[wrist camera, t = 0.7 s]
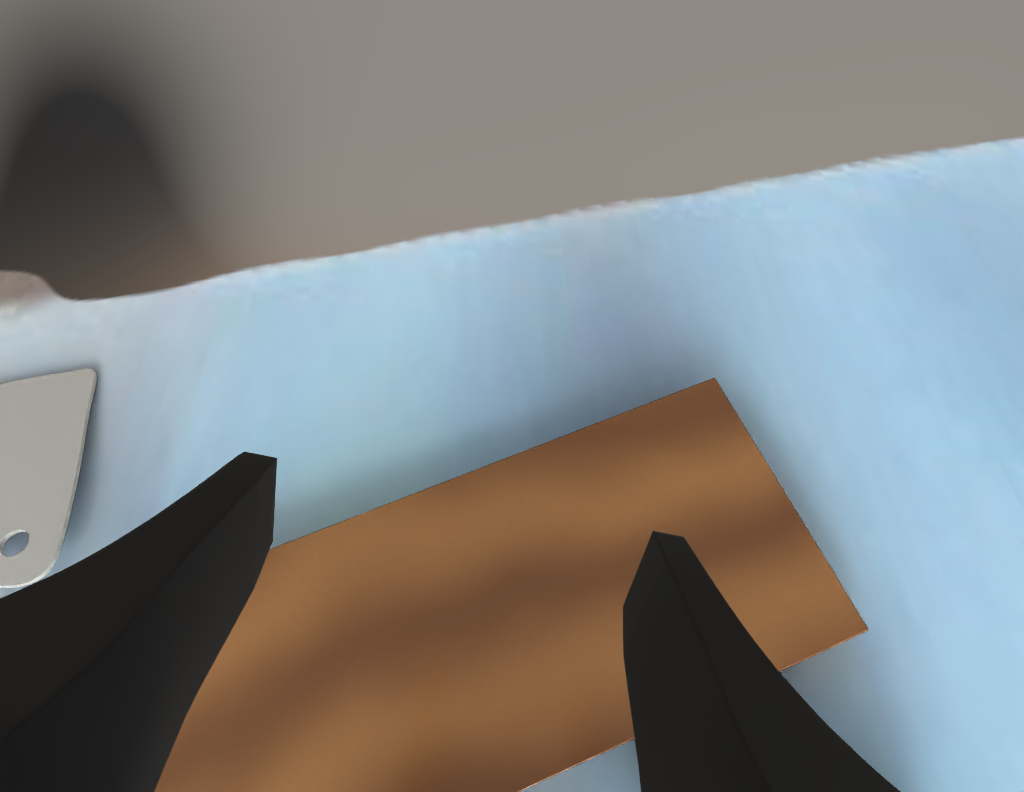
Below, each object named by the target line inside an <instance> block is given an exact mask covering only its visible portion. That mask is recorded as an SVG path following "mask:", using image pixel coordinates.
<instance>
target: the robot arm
mask: <svg viewBox="0 0 1024 792" xmlns="http://www.w3.org/2000/svg"><path fill="white" fill-rule="evenodd" d="M276 468H277V458H274V457H269V456H264V455H259V454H254V453H248V452H243V453H241V454H240V455H238V456H237V457H235V458H234V459H233V460H231V461H230V462H229V463H227V464H226V465H225V466H223V467H222V468H221V469H219V470H218V471H217V472H216V473H214V474H213V475H212V476H210V477H209V478H208V479H206V480H205V481H204V482H202V483H201V484H199V485H198V486H197V487H195V488H194V489H193V490H191V491H190V492H189V493H187V494H186V495H184V496H183V497H181V498H180V499H179V500H177V501H176V502H174V503H173V504H171V505H170V506H169V507H167V508H166V509H164V510H163V511H161V512H160V513H159V514H157V515H156V516H154V517H153V518H151V519H150V520H148V521H146V522H145V523H143V524H142V525H140V526H139V527H137V528H135V529H134V530H132V531H131V532H129V533H127V534H126V535H124V536H123V537H121V538H120V539H118V540H116V541H115V542H113V543H111V544H110V545H108V546H106V547H105V548H103V549H101V550H99V551H98V552H96V553H94V554H92V555H91V556H89V557H87V558H85V559H83V560H81V561H80V562H78V563H76V564H74V565H72V566H70V567H68V568H66V569H64V570H62V571H60V572H58V573H56V574H54V575H52V576H50V577H48V578H46V579H43V580H41V581H39V582H37V583H34V584H32V585H30V586H28V587H26V588H23V589H21V590H19V591H17V592H14V593H12V594H10V595H8V596H5V597H3V598H1V599H0V792H154V791H155V789H156V786H157V784H158V781H159V779H160V776H161V774H162V772H163V769H164V767H165V764H166V762H167V760H168V757H169V755H170V753H171V750H172V748H173V745H174V743H175V741H176V738H177V736H178V734H179V731H180V729H181V727H182V724H183V722H184V720H185V717H186V715H187V713H188V711H189V709H190V707H191V705H192V703H193V701H194V699H195V697H196V695H197V693H198V691H199V689H200V687H201V685H202V683H203V682H204V680H205V678H206V676H207V674H208V672H209V671H210V669H211V667H212V665H213V663H214V662H215V660H216V658H217V656H218V654H219V652H220V651H221V649H222V647H223V645H224V643H225V641H226V640H227V638H228V636H229V634H230V632H231V630H232V629H233V627H234V625H235V623H236V621H237V619H238V618H239V616H240V614H241V612H242V610H243V608H244V606H245V605H246V603H247V601H248V599H249V597H250V595H251V593H252V591H253V590H254V587H255V585H256V582H257V580H258V577H259V575H260V573H261V570H262V568H263V565H264V562H265V560H266V557H267V554H268V552H269V549H270V547H271V544H272V541H273V527H274V507H275V488H276ZM623 657H624V665H625V672H626V680H627V687H628V695H629V702H630V709H631V716H632V723H633V730H634V737H635V744H636V751H637V758H638V765H639V774H640V784H641V792H900V791H899V790H898V789H897V788H896V787H894V786H893V785H892V784H891V783H890V782H888V781H887V780H886V779H885V778H884V777H883V776H881V775H880V774H879V773H878V772H877V771H876V770H875V769H874V768H872V767H871V766H870V765H869V764H868V763H867V762H866V761H865V760H864V759H862V758H861V757H860V756H859V755H858V754H857V753H856V752H855V751H854V750H853V749H852V748H851V747H850V746H849V745H848V744H847V743H846V742H845V741H844V740H843V739H842V738H840V737H839V736H838V735H837V734H836V733H835V732H834V731H833V730H832V729H831V728H830V727H829V726H828V725H827V724H826V723H825V722H824V721H823V720H822V719H821V718H820V717H819V716H818V715H817V713H816V712H815V711H814V710H813V709H812V708H811V707H810V706H809V705H808V704H807V703H806V701H805V700H804V699H803V698H802V697H801V696H800V695H799V694H798V693H797V692H796V690H795V689H794V688H793V687H792V686H791V685H790V684H789V683H788V681H787V680H786V679H785V678H784V677H783V676H782V674H781V673H780V672H779V671H778V670H777V668H776V667H775V666H774V665H773V663H772V662H771V661H770V660H769V658H768V657H767V656H766V655H765V653H764V652H763V651H762V649H761V648H760V647H759V646H758V644H757V643H756V642H755V641H754V639H753V638H752V637H751V635H750V634H749V632H748V631H747V630H746V628H745V627H744V626H743V624H742V623H741V622H740V620H739V619H738V617H737V616H736V615H735V613H734V612H733V610H732V609H731V607H730V606H729V605H728V603H727V602H726V600H725V599H724V597H723V596H722V594H721V593H720V591H719V590H718V588H717V587H716V585H715V584H714V582H713V581H712V579H711V578H710V576H709V575H708V573H707V572H706V570H705V569H704V567H703V565H702V564H701V562H700V561H699V559H698V558H697V556H696V555H695V553H694V552H693V550H692V548H691V547H690V545H689V544H688V542H687V541H686V539H685V538H684V537H682V536H677V535H672V534H667V533H661V532H656V531H653V532H652V534H651V537H650V539H649V542H648V544H647V547H646V549H645V552H644V554H643V557H642V559H641V562H640V564H639V567H638V569H637V572H636V574H635V577H634V579H633V582H632V584H631V587H630V589H629V592H628V594H627V597H626V599H625V602H624V604H623Z"/></svg>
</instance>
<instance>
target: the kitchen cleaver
mask: <svg viewBox="0 0 1024 792" xmlns="http://www.w3.org/2000/svg"><path fill="white" fill-rule="evenodd" d="M96 381H97V374H96V373H95V372H94V370H93V369H90V368H86V369H80V370H75V371H69V372H64V373H58V374H52V375H46V376H40V377H34V378H28V379H23V380H17V381H12V382H6V383H1V384H0V588H15V587H22V586H27V585H30V584H33V583H35V582H37V581H39V580H40V579H42V578H43V577H44V576H46V575H47V574H48V573H49V571H50V570H51V569H52V568H53V566H54V564H55V563H56V561H57V558H58V556H59V554H60V551H61V548H62V544H63V541H64V537H65V534H66V530H67V526H68V522H69V517H70V513H71V509H72V505H73V501H74V496H75V492H76V487H77V482H78V478H79V473H80V467H81V462H82V456H83V450H84V443H85V437H86V431H87V424H88V419H89V413H90V408H91V404H92V399H93V395H94V391H95V386H96ZM19 532H27V533H28V535H29V541H28V544H27V546H26V547H25V548H24V549H23V550H22V551H21V552H20V553H18V554H16V555H14V556H5V555H4V553H3V548H4V545H5V543H6V541H7V540H8V539H9V538H10V537H11V536H13V535H14V534H16V533H19Z"/></svg>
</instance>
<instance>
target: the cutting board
mask: <svg viewBox="0 0 1024 792" xmlns="http://www.w3.org/2000/svg"><path fill="white" fill-rule="evenodd" d="M653 531H656V532H661V533H667V534H672V535H677V536H682V537H684V538H685V539H686V541H687V542H688V544H689V545H690V547H691V548H692V550H693V552H694V553H695V555H696V556H697V558H698V559H699V561H700V562H701V564H702V565H703V567H704V569H705V570H706V572H707V573H708V575H709V576H710V578H711V579H712V581H713V582H714V584H715V585H716V587H717V588H718V590H719V591H720V593H721V594H722V596H723V597H724V599H725V600H726V602H727V603H728V605H729V606H730V607H731V609H732V610H733V612H734V613H735V615H736V616H737V617H738V619H739V620H740V622H741V623H742V624H743V626H744V627H745V628H746V630H747V631H748V632H749V634H750V635H751V637H752V638H753V639H754V641H755V642H756V643H757V644H758V646H759V647H760V648H761V649H762V651H763V652H764V653H765V655H766V656H767V657H768V658H769V660H770V661H771V662H772V663H773V665H774V666H775V667H776V668H777V670H778V671H779V672H780V671H782V670H784V669H786V668H789V667H791V666H793V665H795V664H797V663H799V662H802V661H804V660H806V659H808V658H810V657H812V656H815V655H817V654H819V653H821V652H823V651H825V650H828V649H830V648H832V647H834V646H836V645H838V644H840V643H843V642H845V641H847V640H849V639H851V638H853V637H856V636H858V635H860V634H862V633H864V632H866V631H868V627H867V626H866V624H865V622H864V621H863V619H862V618H861V616H860V614H859V613H858V611H857V609H856V608H855V606H854V604H853V603H852V601H851V600H850V598H849V596H848V595H847V593H846V591H845V590H844V588H843V586H842V585H841V583H840V582H839V580H838V578H837V577H836V575H835V573H834V572H833V570H832V568H831V567H830V565H829V564H828V562H827V560H826V559H825V557H824V555H823V554H822V552H821V550H820V549H819V547H818V546H817V544H816V542H815V541H814V539H813V537H812V536H811V534H810V532H809V531H808V529H807V528H806V526H805V524H804V523H803V521H802V519H801V518H800V516H799V514H798V513H797V511H796V510H795V508H794V506H793V505H792V503H791V501H790V500H789V498H788V496H787V495H786V493H785V492H784V490H783V488H782V487H781V485H780V483H779V482H778V480H777V478H776V477H775V475H774V474H773V472H772V470H771V469H770V467H769V465H768V464H767V462H766V460H765V459H764V457H763V456H762V454H761V452H760V451H759V449H758V447H757V446H756V444H755V442H754V441H753V439H752V438H751V436H750V434H749V433H748V431H747V429H746V428H745V426H744V424H743V423H742V421H741V420H740V418H739V416H738V415H737V413H736V411H735V410H734V408H733V406H732V405H731V403H730V402H729V400H728V398H727V397H726V395H725V393H724V392H723V390H722V388H721V387H720V385H719V384H718V382H717V380H716V379H715V378H712V379H710V380H707V381H704V382H702V383H699V384H697V385H694V386H691V387H689V388H686V389H684V390H681V391H678V392H676V393H673V394H671V395H668V396H666V397H663V398H660V399H658V400H655V401H653V402H650V403H647V404H645V405H642V406H640V407H637V408H634V409H632V410H629V411H627V412H624V413H621V414H619V415H616V416H614V417H611V418H609V419H606V420H603V421H601V422H598V423H596V424H593V425H590V426H588V427H585V428H583V429H580V430H577V431H575V432H572V433H570V434H567V435H565V436H562V437H559V438H557V439H554V440H552V441H549V442H546V443H544V444H541V445H539V446H536V447H533V448H531V449H528V450H526V451H523V452H520V453H518V454H515V455H513V456H510V457H508V458H505V459H502V460H500V461H497V462H495V463H492V464H489V465H487V466H484V467H482V468H479V469H476V470H474V471H471V472H469V473H466V474H463V475H461V476H458V477H456V478H453V479H451V480H448V481H445V482H443V483H440V484H438V485H435V486H432V487H430V488H427V489H425V490H422V491H419V492H417V493H414V494H412V495H409V496H407V497H404V498H401V499H399V500H396V501H394V502H391V503H388V504H386V505H383V506H381V507H378V508H375V509H373V510H370V511H368V512H365V513H362V514H360V515H357V516H355V517H352V518H350V519H347V520H344V521H342V522H339V523H337V524H334V525H331V526H329V527H326V528H324V529H321V530H318V531H316V532H313V533H311V534H308V535H306V536H303V537H300V538H298V539H295V540H293V541H290V542H287V543H285V544H282V545H280V546H277V547H274V548H272V549H269V552H268V554H267V557H266V560H265V562H264V565H263V568H262V570H261V573H260V575H259V577H258V580H257V582H256V585H255V587H254V590H253V591H252V593H251V595H250V597H249V599H248V601H247V603H246V605H245V606H244V608H243V610H242V612H241V614H240V616H239V618H238V619H237V621H236V623H235V625H234V627H233V629H232V630H231V632H230V634H229V636H228V638H227V640H226V641H225V643H224V645H223V647H222V649H221V651H220V652H219V654H218V656H217V658H216V660H215V662H214V663H213V665H212V667H211V669H210V671H209V672H208V674H207V676H206V678H205V680H204V682H203V683H202V685H201V687H200V689H199V691H198V693H197V695H196V697H195V699H194V701H193V703H192V705H191V707H190V709H189V711H188V713H187V715H186V717H185V720H184V722H183V724H182V727H181V729H180V731H179V734H178V736H177V738H176V741H175V743H174V745H173V748H172V750H171V753H170V755H169V757H168V760H167V762H166V764H165V767H164V769H163V772H162V774H161V776H160V779H159V781H158V784H157V786H156V789H155V791H154V792H521V791H523V790H525V789H527V788H529V787H532V786H534V785H536V784H538V783H540V782H542V781H545V780H547V779H549V778H551V777H553V776H555V775H558V774H560V773H562V772H564V771H566V770H568V769H570V768H573V767H575V766H577V765H579V764H581V763H583V762H586V761H588V760H590V759H592V758H594V757H596V756H599V755H601V754H603V753H605V752H607V751H609V750H612V749H614V748H616V747H618V746H620V745H622V744H624V743H627V742H629V741H631V740H633V739H635V737H634V730H633V723H632V716H631V709H630V702H629V695H628V687H627V680H626V672H625V665H624V657H623V604H624V602H625V599H626V597H627V594H628V592H629V589H630V587H631V584H632V582H633V579H634V577H635V574H636V572H637V569H638V567H639V564H640V562H641V559H642V557H643V554H644V552H645V549H646V547H647V544H648V542H649V539H650V537H651V534H652V532H653Z"/></svg>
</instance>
